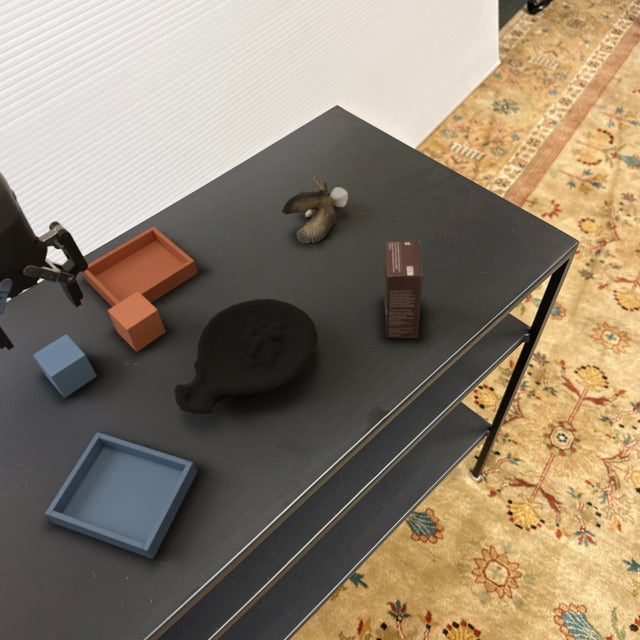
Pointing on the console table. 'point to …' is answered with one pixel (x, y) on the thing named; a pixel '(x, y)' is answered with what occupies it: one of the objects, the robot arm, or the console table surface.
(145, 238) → the terracotta tray
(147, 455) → the blue tray
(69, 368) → the blue block
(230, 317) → the oil lamp
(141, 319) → the terracotta block
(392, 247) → the box
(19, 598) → the console table surface
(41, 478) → the console table surface
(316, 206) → the eagle figurine
